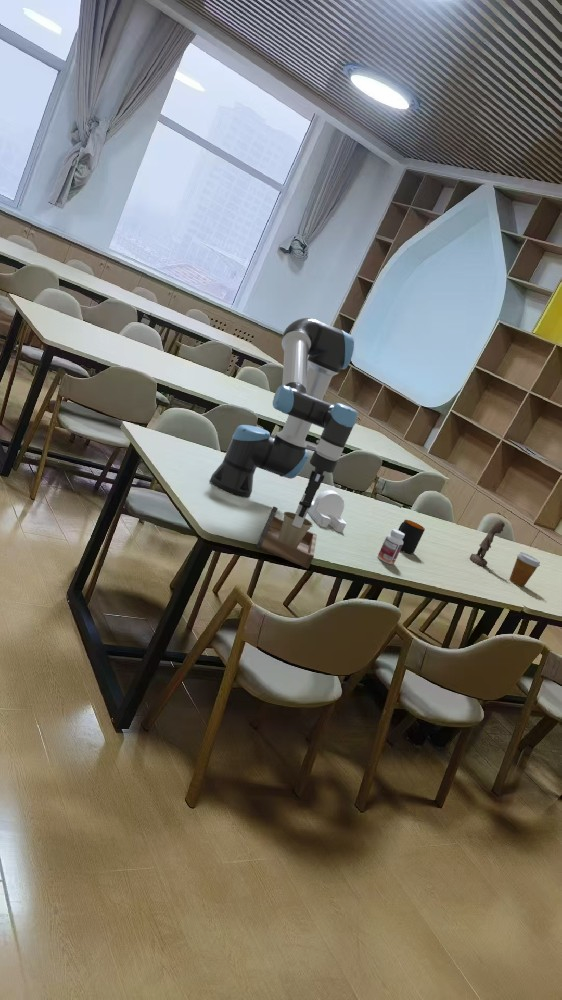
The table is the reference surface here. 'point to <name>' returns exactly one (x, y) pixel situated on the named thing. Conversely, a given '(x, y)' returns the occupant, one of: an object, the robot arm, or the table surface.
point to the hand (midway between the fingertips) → (297, 520)
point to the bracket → (328, 510)
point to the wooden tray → (273, 545)
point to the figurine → (487, 544)
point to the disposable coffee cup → (523, 569)
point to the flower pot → (293, 530)
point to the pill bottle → (391, 547)
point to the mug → (410, 535)
